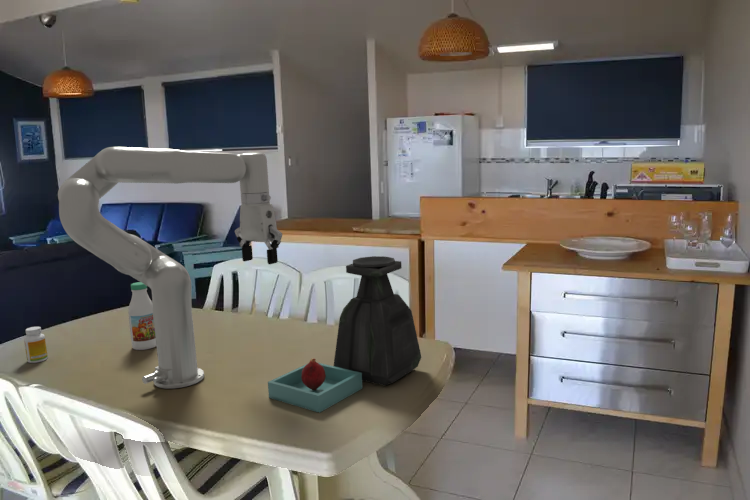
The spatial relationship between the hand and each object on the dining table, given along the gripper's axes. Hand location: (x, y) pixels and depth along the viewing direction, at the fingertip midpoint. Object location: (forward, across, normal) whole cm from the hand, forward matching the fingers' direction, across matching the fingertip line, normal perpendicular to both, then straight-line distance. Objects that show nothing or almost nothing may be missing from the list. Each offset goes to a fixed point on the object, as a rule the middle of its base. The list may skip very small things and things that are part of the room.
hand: (260, 261), depth 168 cm
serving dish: (+28, -27, +10) cm, 40 cm away
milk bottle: (+28, +43, +10) cm, 53 cm away
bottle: (+28, -33, -8) cm, 44 cm away
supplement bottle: (+28, +61, +34) cm, 75 cm away
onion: (+28, -26, +10) cm, 40 cm away
